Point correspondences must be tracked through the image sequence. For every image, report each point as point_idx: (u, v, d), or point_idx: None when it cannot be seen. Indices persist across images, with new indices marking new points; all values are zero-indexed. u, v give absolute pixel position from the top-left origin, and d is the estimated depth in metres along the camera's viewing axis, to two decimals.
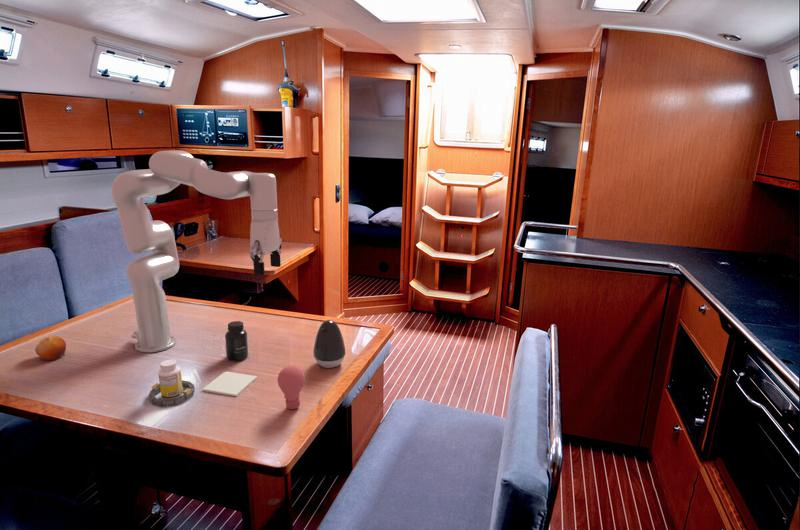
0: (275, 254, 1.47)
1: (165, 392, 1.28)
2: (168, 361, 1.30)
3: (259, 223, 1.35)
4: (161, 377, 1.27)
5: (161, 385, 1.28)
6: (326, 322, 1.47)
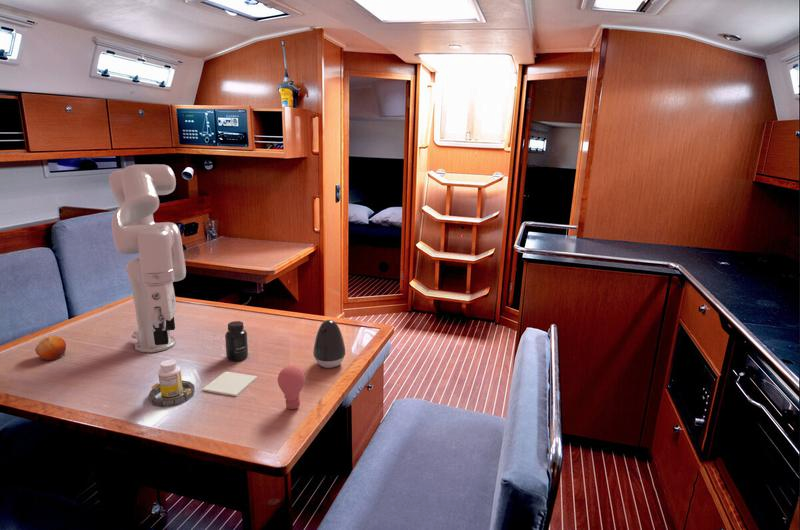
0: None
1: (165, 392, 1.28)
2: (168, 361, 1.30)
3: None
4: (161, 377, 1.27)
5: (161, 385, 1.28)
6: (326, 322, 1.47)
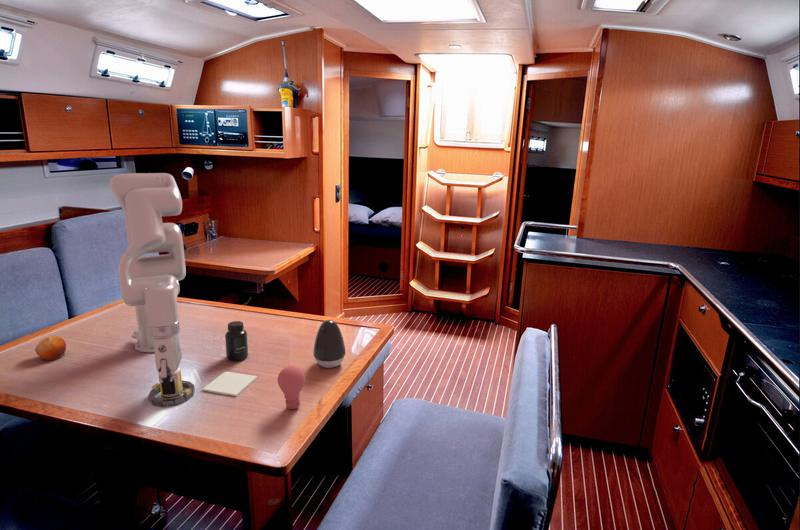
0: None
1: None
2: None
3: None
4: None
5: (161, 385, 1.28)
6: (326, 322, 1.47)
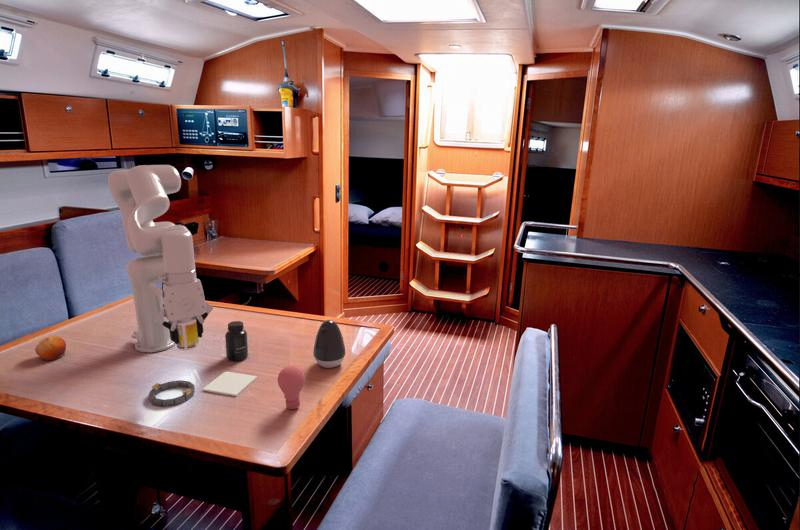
0: None
1: None
2: None
3: None
4: None
5: None
6: (326, 322, 1.47)
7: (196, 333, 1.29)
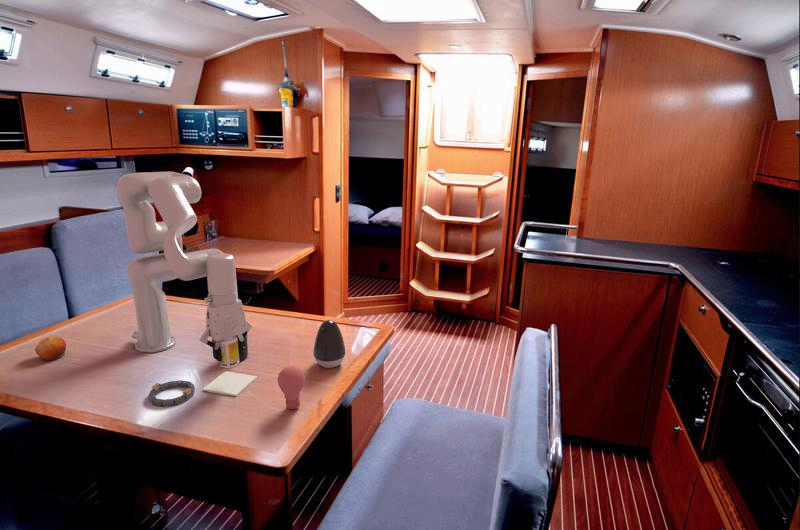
0: None
1: None
2: None
3: None
4: None
5: None
6: (326, 322, 1.47)
7: (237, 351, 1.35)
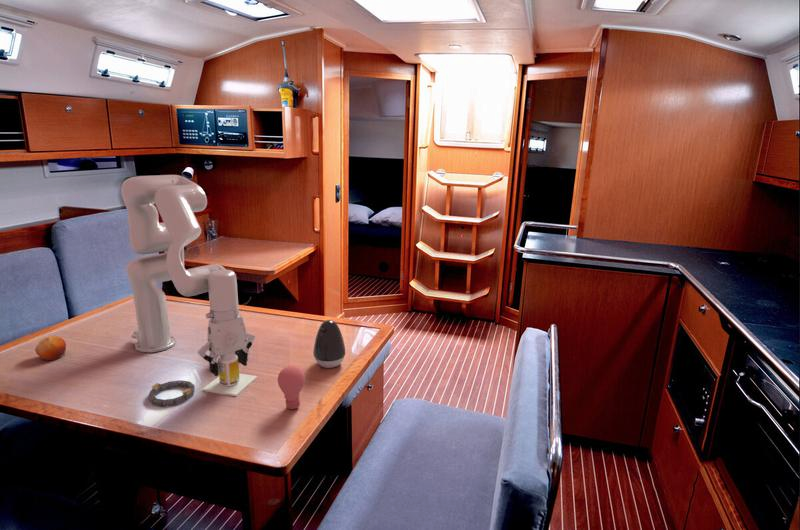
0: None
1: (219, 376, 1.36)
2: None
3: None
4: None
5: None
6: (326, 322, 1.47)
7: (238, 369, 1.37)
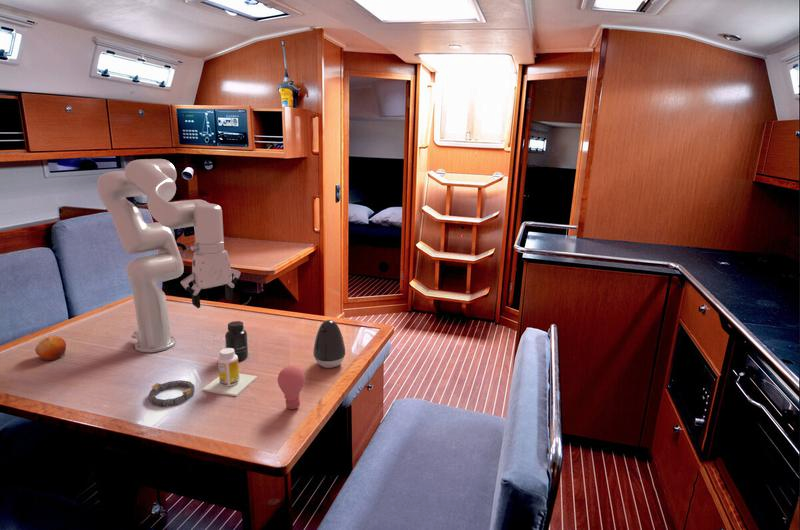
0: None
1: (219, 376, 1.36)
2: (229, 349, 1.36)
3: None
4: None
5: None
6: (326, 322, 1.47)
7: (238, 369, 1.37)
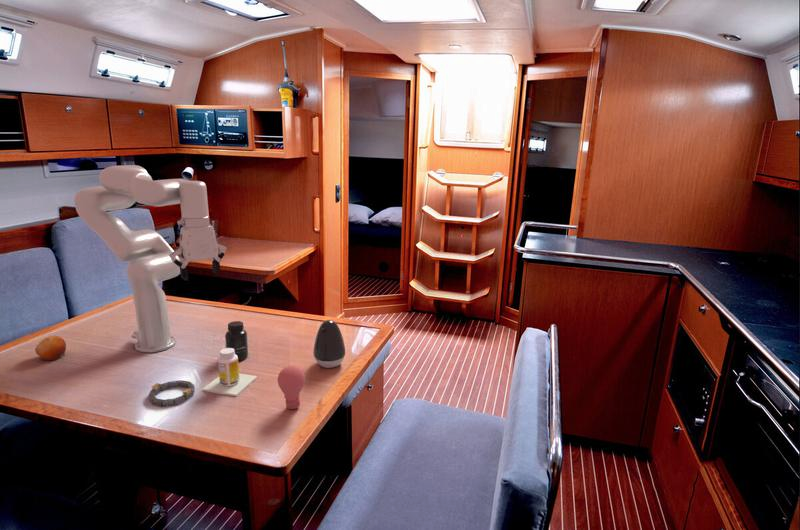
0: None
1: (219, 376, 1.36)
2: (229, 349, 1.36)
3: None
4: None
5: None
6: (326, 322, 1.47)
7: (238, 369, 1.37)
